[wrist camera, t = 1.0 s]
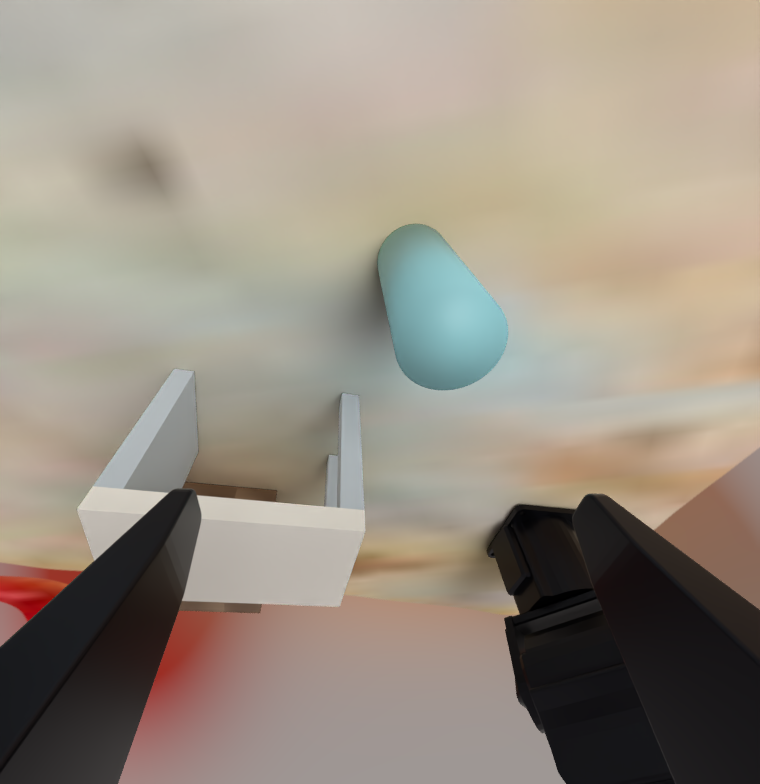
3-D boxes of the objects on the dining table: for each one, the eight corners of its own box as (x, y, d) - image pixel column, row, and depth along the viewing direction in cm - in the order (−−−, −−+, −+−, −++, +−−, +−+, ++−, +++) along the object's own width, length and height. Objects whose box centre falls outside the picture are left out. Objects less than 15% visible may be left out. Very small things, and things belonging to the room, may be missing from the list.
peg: (459, 233, 17) (527, 301, 11) (436, 303, 19) (482, 397, 13) (387, 215, 17) (412, 277, 10) (370, 289, 18) (383, 381, 12)
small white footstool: (359, 395, 22) (365, 531, 15) (341, 466, 25) (339, 606, 18) (174, 368, 20) (76, 509, 13) (181, 449, 23) (107, 598, 16)
